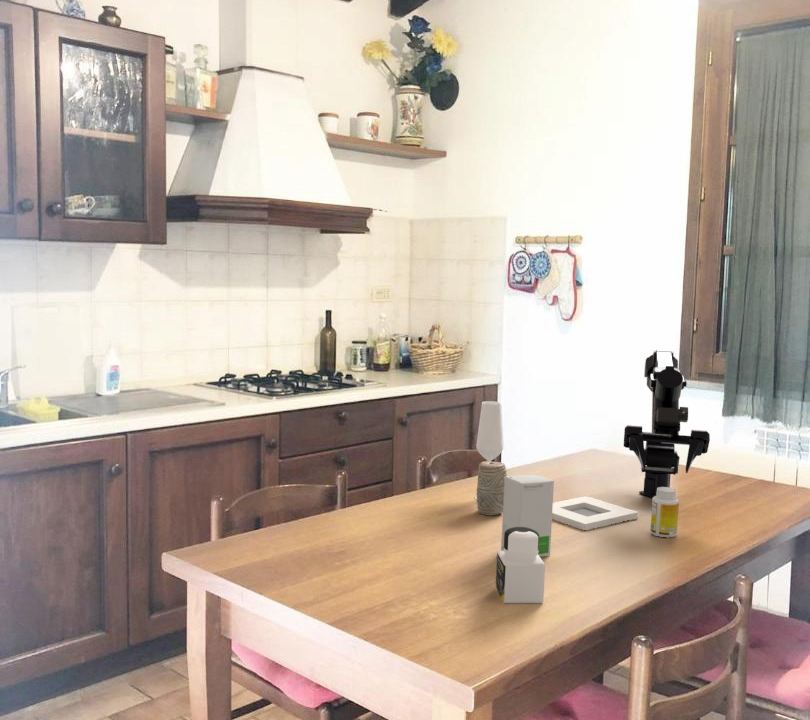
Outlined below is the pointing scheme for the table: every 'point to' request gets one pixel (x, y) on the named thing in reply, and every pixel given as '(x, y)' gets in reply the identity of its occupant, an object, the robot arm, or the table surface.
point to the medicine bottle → (520, 567)
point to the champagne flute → (490, 431)
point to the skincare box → (529, 507)
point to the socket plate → (590, 513)
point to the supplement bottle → (664, 513)
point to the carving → (491, 487)
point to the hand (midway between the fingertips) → (665, 470)
